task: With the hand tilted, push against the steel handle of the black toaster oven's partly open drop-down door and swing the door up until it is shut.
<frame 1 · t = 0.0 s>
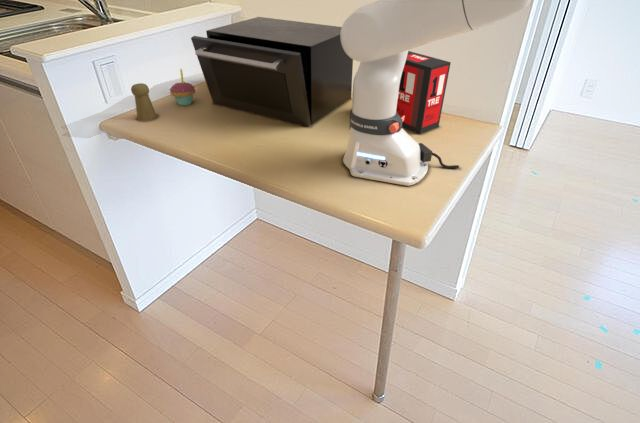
oven: (284, 100, 147), on the table
cleaning product box: (409, 122, 131), on the table
oven door: (247, 84, 126), point 11 cm above the table, hinge at 12.8°
cupcake: (185, 103, 144), on the table
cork: (147, 118, 133), on the table
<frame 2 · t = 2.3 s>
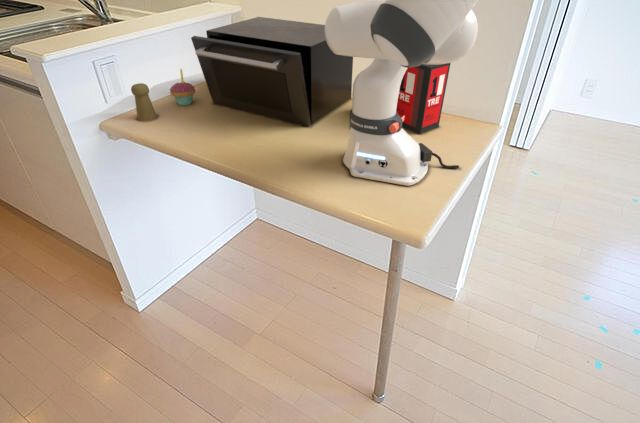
nothing on the table moved.
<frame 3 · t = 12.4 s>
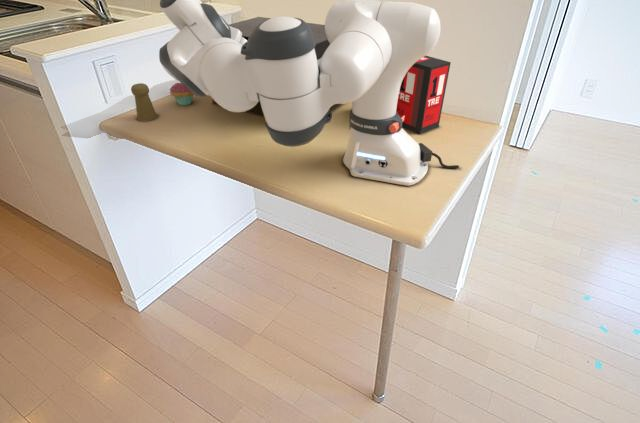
hand: (238, 65, 120), 18 cm above the table, tool tilted 45°, fingers closed
oven door: (248, 83, 126), point 11 cm above the table, hinge at 9.7°, touching gripper
everything else where it was.
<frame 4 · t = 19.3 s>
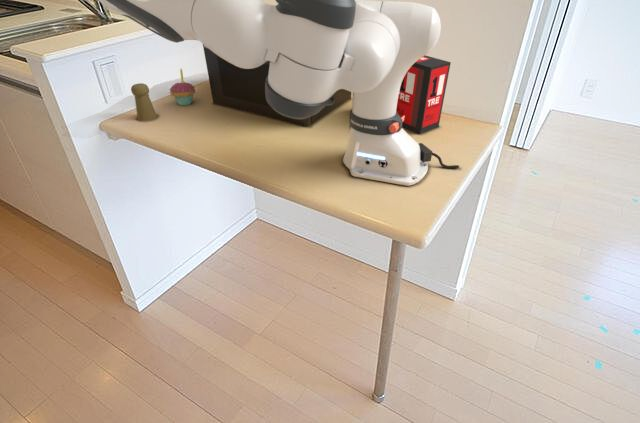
hand: (196, 8, 99), 35 cm above the table, tool tilted 45°, fingers closed
oven door: (251, 80, 127), point 12 cm above the table, hinge at 1.6°
everything else where it was.
at the end: oven door at +2° (first picture: +13°) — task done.
